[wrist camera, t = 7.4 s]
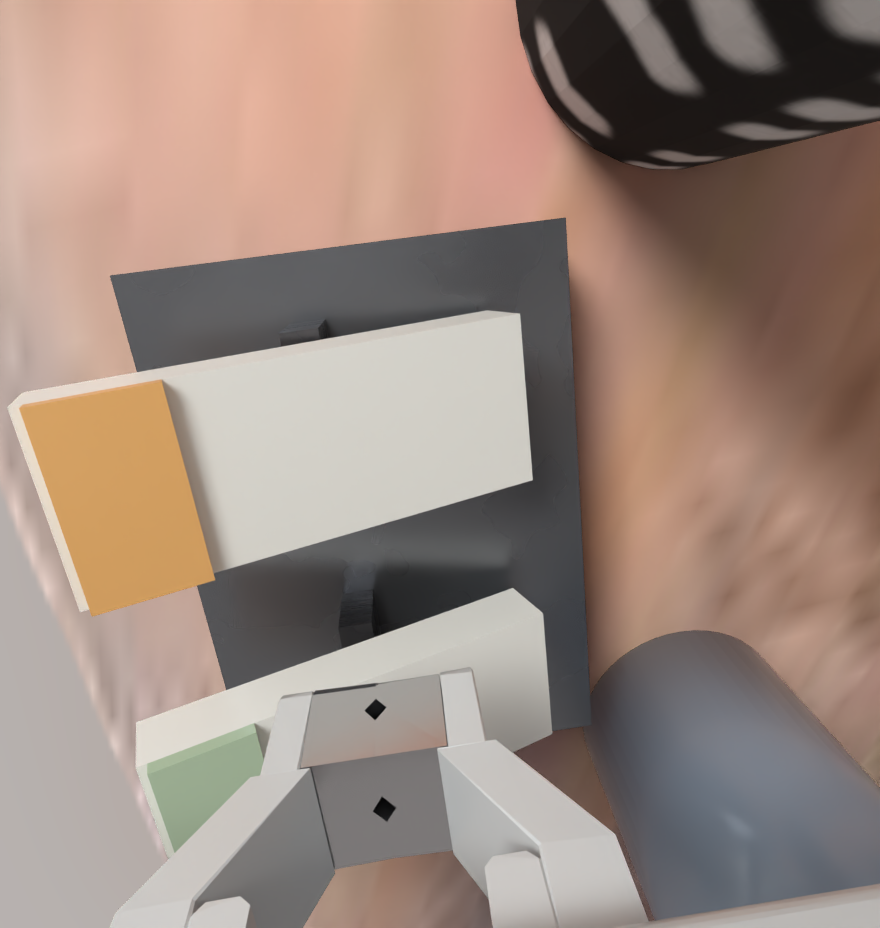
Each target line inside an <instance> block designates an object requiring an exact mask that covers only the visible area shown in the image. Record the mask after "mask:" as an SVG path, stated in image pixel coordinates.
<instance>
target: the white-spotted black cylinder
mask: <svg viewBox="0 0 880 928" xmlns="http://www.w3.org/2000/svg"><path fill="white" fill-rule="evenodd" d="M516 7H517V14H518V21H519V29H520V36H521V39H522V42H523V45H524V49H525V52H526V55H527V58H528V61H529V64H530V67H531V71H532V73H533V75H534V77H535V79H536V80H537V82H538V84H539V86H540V88H541V90H542V92H543V94H544V95H545V97H546V99H547V101H548V103H549V104H550V105H551V107H552V108H553V109H554V110H555V111H556V113H557V114H558V115H559V116H560V118H561V119H562V120H563V121H564V122H565V124H566V125H567V126H568V127H569V129H571V130H572V131H573V132H574V133H576V134H577V135H578V136H579V137H581V138H582V139H583V140H584V141H585V142H587V143H588V144H589V145H590V146H592V147H593V148H594V149H596V150H598V151H600V152H602V153H604V154H606V155H608V156H610V157H612V158H614V159H617V160H619V161H621V162H623V163H628V164H632V165H636V166H641V167H645V168H649V169H685V168H689V167H694V166H699V165H703V164H708V163H713V162H717V161H721V160H725V159H729V158H733V157H737V156H740V155H744V154H748V153H752V152H756V151H760V150H764V149H768V148H772V147H776V146H780V145H784V144H788V143H792V142H796V141H800V140H804V139H808V138H812V137H816V136H820V135H824V134H828V133H832V132H836V131H840V130H844V129H848V128H852V127H856V126H860V125H864V124H868V123H872V122H876V121H880V0H516Z"/></svg>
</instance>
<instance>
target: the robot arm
mask: <svg viewBox="0 0 880 928" xmlns="http://www.w3.org/2000/svg"><path fill="white" fill-rule="evenodd" d="M440 679H441V682H440ZM441 687H442V688H441ZM445 851H453V854H454V855H455V856H456V858H457V859H458V860H459V861H460V863H461V864H462V865H463V867H464V868H465V869H466V871H467V872H468V873H469V874H470V876H471V877H472V878H473V880H474V881H475V882H476V883H477V885H478V886H479V887H480V889H481V890H482V891H483V893H484V894H485V895H486V896H487V898H488V899H489V906H490V914H491V921H492V928H880V883H879V884H873V885H867V886H861V887H855V888H849V889H843V890H837V891H831V892H825V893H819V894H813V895H806V896H800V897H794V898H788V899H782V900H776V901H770V902H764V903H758V904H752V905H746V906H740V907H733V908H727V909H721V910H715V911H709V912H703V913H697V914H691V915H685V916H679V917H673V918H667V919H660V920H654V921H649V920H648V918H647V915H646V913H645V910H644V907H643V905H642V902H641V900H640V897H639V894H638V892H637V889H636V887H635V884H634V881H633V879H632V876H631V874H630V871H629V868H628V866H627V863H626V861H625V858H624V855H623V853H622V850H621V848H620V845H619V842H618V840H617V837H616V835H615V834H614V833H613V832H612V831H611V830H609V829H608V828H607V827H606V826H604V825H603V824H602V823H601V822H599V821H598V820H597V819H596V818H594V817H593V816H592V815H591V814H589V813H588V812H587V811H586V810H584V809H583V808H582V807H581V806H579V805H578V804H577V803H576V802H574V801H573V800H572V799H571V798H569V797H568V796H567V795H566V794H564V793H563V792H562V791H561V790H559V789H558V788H557V787H556V786H554V785H553V784H552V783H551V782H549V781H548V780H547V779H546V778H544V777H543V776H542V775H541V774H539V773H538V772H537V771H536V770H534V769H533V768H532V767H531V766H529V765H528V764H527V763H526V762H524V761H523V760H522V759H521V758H519V757H518V756H517V755H516V754H514V753H513V752H512V751H511V750H509V749H508V748H507V747H506V746H504V745H503V744H502V743H501V742H499V741H498V740H496V739H495V740H488V741H487V738H486V733H485V728H484V723H483V718H482V713H481V708H480V703H479V698H478V693H477V688H476V683H475V678H474V673H473V670H472V669H471V667H467V668H462V669H456V670H451V671H445V672H440V675H439V674H434V675H428V676H421V677H415V678H408V679H402V680H395V681H389V682H382V683H371V684H364V685H356V686H348V687H340V688H332V689H324V690H316V691H315V692H313V691H310V692H303V693H296V694H289V695H283V696H282V697H281V699H280V700H279V701H278V704H277V709H276V713H275V717H274V721H273V725H272V729H271V733H270V737H269V741H268V745H267V749H266V753H265V758H264V762H263V766H262V770H261V774H260V776H254V777H250V778H249V779H248V780H247V781H246V782H245V783H244V784H243V785H242V786H241V787H240V788H239V789H238V790H237V791H236V792H235V793H234V794H233V795H232V796H231V797H230V798H229V799H228V800H227V801H226V802H225V803H224V804H223V805H222V806H221V807H220V808H219V809H218V810H217V811H216V812H215V813H214V814H213V815H212V816H211V817H210V818H209V819H208V820H207V821H206V822H205V823H204V824H203V825H202V826H201V827H200V828H199V829H198V830H197V831H196V832H195V833H194V834H193V835H192V836H191V837H190V838H189V839H188V840H187V841H186V842H185V843H184V844H183V845H182V846H181V847H180V848H179V849H178V850H177V851H176V852H175V853H174V854H173V855H172V856H171V857H170V858H169V859H168V860H167V861H166V863H165V864H164V865H163V866H162V867H161V868H160V869H159V870H158V871H157V872H156V873H155V874H154V875H153V876H152V877H151V878H150V879H149V880H148V881H147V882H146V883H145V884H144V885H143V886H142V887H141V888H140V889H139V890H138V891H137V892H136V893H135V894H134V895H133V896H132V897H131V898H130V899H129V900H128V901H127V902H126V903H125V904H124V905H123V906H122V907H121V908H120V909H119V910H118V911H117V912H116V913H115V915H114V918H113V920H112V923H111V925H110V927H109V928H303V926H304V925H305V923H306V921H307V920H308V918H309V916H310V915H311V913H312V911H313V910H314V908H315V906H316V904H317V903H318V901H319V899H320V898H321V896H322V894H323V893H324V891H325V889H326V888H327V886H328V884H329V883H330V881H331V879H332V878H333V876H334V874H335V871H334V869H339V868H344V867H350V866H355V865H360V864H365V863H371V862H376V861H381V860H386V859H392V858H399V857H406V856H414V855H422V854H430V853H437V852H445Z"/></svg>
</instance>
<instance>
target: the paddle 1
mask: <svg viewBox="0 0 880 928" xmlns="http://www.w3.org/2000/svg"><path fill="white" fill-rule="evenodd" d="M7 408H8V411H9V414H10V417H11V419H12V422H13V425H14V428H15V431H16V434H17V436H18V439H19V442H20V445H21V448H22V450H23V453H24V456H25V459H26V462H27V464H28V467H29V470H30V473H31V476H32V478H33V481H34V484H35V487H36V490H37V492H38V495H39V498H40V501H41V504H42V506H43V509H44V512H45V515H46V518H47V521H48V523H49V526H50V529H51V532H52V535H53V537H54V540H55V543H56V546H57V549H58V551H59V554H60V557H61V560H62V563H63V565H64V568H65V571H66V574H67V577H68V579H69V582H70V585H71V588H72V591H73V594H74V596H75V599H76V602H77V605H78V608H79V610H80V612H83V611H86V610H90V613H91V616H96V615H99V614H103V613H106V612H109V611H113V610H116V609H119V608H123V607H126V606H130V605H133V604H136V603H140V602H143V601H146V600H150V599H153V598H157V597H160V596H163V595H167V594H170V593H174V592H177V591H180V590H184V589H187V588H190V587H194V586H197V585H201V584H204V583H207V582H211V581H214V580H215V577H214V573H216V572H220V571H223V570H227V569H230V568H233V567H237V566H240V565H244V564H247V563H251V562H254V561H257V560H261V559H264V558H268V557H271V556H274V555H278V554H281V553H285V552H288V551H292V550H295V549H298V548H302V547H305V546H309V545H312V544H316V543H319V542H322V541H326V540H329V539H333V538H336V537H340V536H343V535H346V534H350V533H353V532H357V531H360V530H364V529H367V528H370V527H374V526H377V525H381V524H384V523H388V522H391V521H394V520H398V519H401V518H405V517H408V516H412V515H415V514H418V513H422V512H425V511H429V510H432V509H436V508H439V507H442V506H446V505H449V504H453V503H456V502H460V501H463V500H466V499H470V498H473V497H477V496H480V495H484V494H487V493H490V492H494V491H497V490H501V489H504V488H508V487H511V486H514V485H518V484H521V483H525V482H528V481H532V480H533V476H532V463H531V450H530V437H529V424H528V411H527V398H526V385H525V372H524V359H523V345H522V332H521V319H520V314H518V313H508V312H498V311H489V310H486V311H480V312H475V313H469V314H464V315H458V316H452V317H447V318H441V319H435V320H430V321H424V322H418V323H413V324H407V325H401V326H396V327H390V328H384V329H379V330H373V331H367V332H362V333H356V334H351V335H345V336H339V337H334V338H328V339H322V340H317V341H311V342H305V343H300V344H294V345H288V346H283V347H277V348H271V349H266V350H260V351H254V352H249V353H243V354H237V355H232V356H226V357H221V358H215V359H209V360H204V361H198V362H192V363H187V364H181V365H175V366H170V367H164V368H158V369H153V370H147V371H141V372H136V373H130V374H124V375H119V376H113V377H108V378H102V379H96V380H91V381H85V382H79V383H74V384H68V385H62V386H57V387H51V388H45V389H40V390H34V391H28V392H23V393H21V394H20V395H19V396H18V397H17V398H16V399H15V400H14V401H13V402H12V403H11V404H10V405H9V406H8V407H7Z"/></svg>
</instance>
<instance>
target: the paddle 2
mask: <svg viewBox="0 0 880 928" xmlns="http://www.w3.org/2000/svg"><path fill="white" fill-rule="evenodd" d="M467 667H471V669H472V670H473V673H474V678H475V683H476V688H477V693H478V698H479V703H480V708H481V713H482V718H483V723H484V728H485V733H486V738H487V741H488V740H495V739H496V740H498V741H499V742H501V743H502V744H503V745H504V746H506V747H507V748H508V749H509V750H511V751H512V752H515V751H517V750H519V749H521V748H523V747H525V746H528V745H530V744H532V743H534V742H536V741H538V740H541V739H543V738H545V737H547V736H549V735H551V734H552V724H551V711H550V698H549V685H548V672H547V658H546V645H545V632H544V619H543V613H542V612H541V611H540V610H539V609H537V608H536V607H535V606H534V605H533V604H531V603H530V602H529V601H528V600H527V599H526V598H524V597H523V596H522V595H521V594H520V593H518V592H517V591H516V590H515V589H514V588H511V589H509V590H506V591H503V592H500V593H497V594H495V595H492V596H489V597H486V598H483V599H481V600H478V601H475V602H472V603H469V604H467V605H464V606H461V607H458V608H455V609H453V610H450V611H447V612H444V613H441V614H439V615H436V616H433V617H430V618H427V619H424V620H422V621H419V622H416V623H413V624H410V625H408V626H405V627H402V628H399V629H396V630H394V631H391V632H388V633H385V634H382V635H380V636H377V637H374V638H371V639H368V640H366V641H363V642H360V643H357V644H354V645H352V646H349V647H346V648H343V649H340V650H338V651H335V652H332V653H329V654H326V655H324V656H321V657H318V658H315V659H312V660H310V661H307V662H304V663H301V664H298V665H296V666H293V667H290V668H287V669H284V670H282V671H279V672H276V673H273V674H270V675H268V676H265V677H262V678H259V679H256V680H254V681H251V682H248V683H245V684H242V685H240V686H237V687H234V688H231V689H228V690H225V691H223V692H220V693H217V694H214V695H211V696H209V697H206V698H203V699H200V700H197V701H195V702H192V703H189V704H186V705H183V706H181V707H178V708H175V709H172V710H169V711H167V712H164V713H161V714H158V715H155V716H153V717H150V718H147V719H144V720H141V721H139V722H136V770H137V773H138V776H139V779H140V782H141V784H142V787H143V790H144V793H145V796H146V798H147V801H148V804H149V807H150V810H151V812H152V815H153V818H154V821H155V824H156V826H157V829H158V832H159V835H160V838H161V840H162V843H163V846H164V849H165V852H166V855H167V857H168V859H169V858H170V857H171V856H172V855H173V854H174V853H175V852H176V851H177V850H178V849H179V848H180V847H181V846H182V845H183V844H184V843H185V842H186V841H187V840H188V839H189V838H190V837H191V836H192V835H193V834H194V833H195V832H196V831H197V830H198V829H199V828H200V827H201V826H202V825H203V824H204V823H205V822H206V821H207V820H208V819H209V818H210V817H211V816H212V815H213V814H214V813H215V812H216V811H217V810H218V809H219V808H220V807H221V806H222V805H223V804H224V803H225V802H226V801H227V800H228V799H229V798H230V797H231V796H232V795H233V794H234V793H235V792H236V791H237V790H238V789H239V788H240V787H241V786H242V785H243V784H244V783H245V782H246V781H247V780H248V779H249V778H250V777H254V776H260V774H261V770H262V766H263V762H264V758H265V753H266V749H267V745H268V741H269V737H270V733H271V729H272V725H273V721H274V717H275V713H276V709H277V704H278V701H279V700H280V699H281V697H282V696H283V695H289V694H296V693H303V692H310V691H313V692H315V691H316V690H324V689H332V688H340V687H348V686H356V685H364V684H371V683H382V682H389V681H395V680H402V679H408V678H415V677H421V676H428V675H434V674H439V675H440V672H445V671H451V670H456V669H462V668H467ZM440 682H441V679H440ZM441 688H442V687H441Z"/></svg>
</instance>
